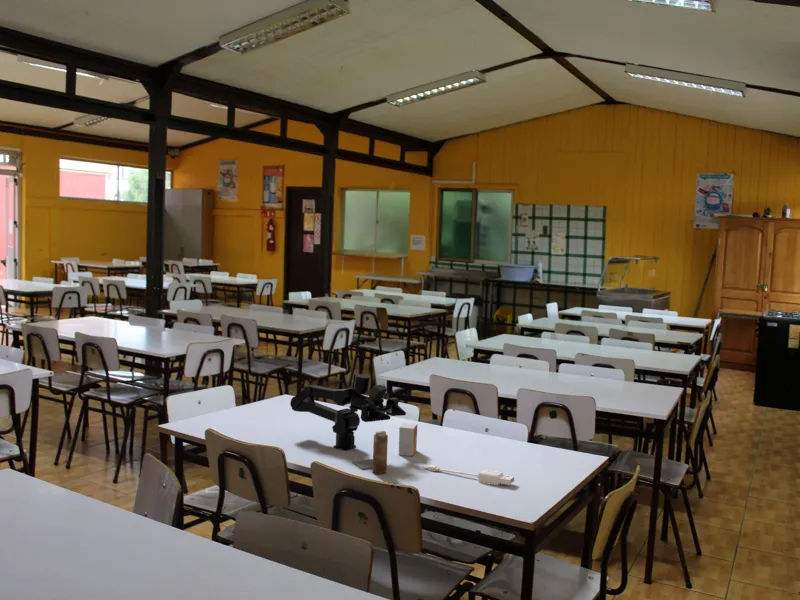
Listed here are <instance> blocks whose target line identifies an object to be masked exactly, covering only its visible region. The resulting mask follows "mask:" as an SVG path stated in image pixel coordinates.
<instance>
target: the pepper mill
mask: <svg viewBox="0 0 800 600" xmlns="http://www.w3.org/2000/svg"><path fill="white" fill-rule="evenodd" d="M388 439H389V437H388V434H387V431H385V430H377V431H375V434H373V448H372V453H373V454H372V459H373V468H372V474H373V473H374V475H377V474H378V476H379V475H380V476H382V474H383V475H387V471H388V468H387V467H388V466H387V465H388V442H389V440H388Z"/></svg>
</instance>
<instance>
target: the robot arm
mask: <svg viewBox="0 0 800 600" xmlns="http://www.w3.org/2000/svg"><path fill="white" fill-rule="evenodd" d="M352 379H353V380H352V387H349V388H342V389H341V388H340V389H337V388H331V387H327V386H320V385H317V384H310V385H306V386H304V388H303V390H301V391H300V392H299V393H297V394H295V396H293V397H292V398H291V399H290V402H289V403H290V404H289V405H290V407H291V410H292V411H294V412H299V413H310V414H313V415H315V416H317V417H321V418H323V419H326V420H329V421H331V422H333V423H334V424H333V426H332V427H331V428H332V432H333V433H335V445H333V448H335V449H340V450H344V451H348V450H351V449H354V448H356V446H357V445H356V444H355V432H356V431H357V430H358V427H359V425H360V423H361V421H362V422H364V423H368V422H369V423H370V422H378V421H379V422H380V421H387V420H388V421H389V420H391V417H398V416H400V417H401V416H406V414H407V412H406V411H405V410H404V409H403V408H402V407H400V405H399V401H400V399H399V398H397V397H389V398H388V399H386V400H385V399H384V398H383V397H384V396H385V394H386V392H387V390H388V388H387V386H386V385H382V384H377V385H374V386H372V388H371V391H370V393H369V390H370V385H371V375H369V374H362V373H353V377H352ZM367 393H369V396H367V395H366V394H367ZM316 397H317V398H321V399H326V400H330V401H332V402H334V404H337V405H339V406H346V405H350V406H348V407H349V408H343V409H339V410H337V409H335V408H332V407H329V406H327V405H324V404H321V403H319V402H316V401H315V400H316ZM384 400H385V401H386V403H385V405H384ZM358 411H361V413H360V415H359V414H358V413H357V412H358ZM360 419H361V420H360Z"/></svg>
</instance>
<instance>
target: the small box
mask: <svg viewBox="0 0 800 600" xmlns="http://www.w3.org/2000/svg"><path fill="white" fill-rule="evenodd" d="M398 429H399V431H398V432H399V436H398V456H408V457H409V456H411V457H413V456H414V455H415V453H416V452H417V447H418V446H417V443H418V423H408V422H404V423H402V424H401V426H400V427H399V428H398Z"/></svg>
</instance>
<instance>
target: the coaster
mask: <svg viewBox="0 0 800 600" xmlns="http://www.w3.org/2000/svg"><path fill="white" fill-rule="evenodd" d="M351 462H352V464H353V465H355V466H357V468H359V469H360V470H362V469H363V470H370V469H371V470H373V458H371V459H362V460H353V461H351Z"/></svg>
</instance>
